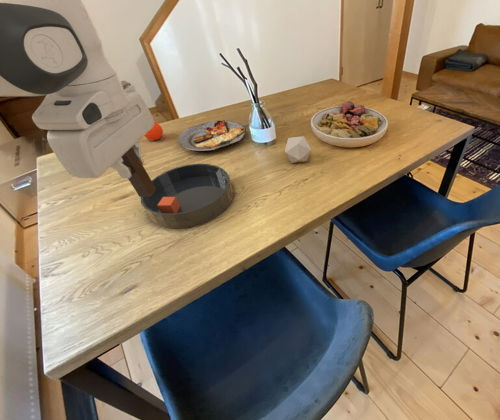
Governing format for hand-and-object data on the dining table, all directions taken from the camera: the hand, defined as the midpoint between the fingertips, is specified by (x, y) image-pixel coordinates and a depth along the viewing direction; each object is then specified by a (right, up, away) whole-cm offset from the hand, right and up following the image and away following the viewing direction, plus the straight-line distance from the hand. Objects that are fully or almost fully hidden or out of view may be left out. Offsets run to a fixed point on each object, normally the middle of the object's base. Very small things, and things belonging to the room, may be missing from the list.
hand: (133, 170), depth 53 cm
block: (-6, -8, +23) cm, 25 cm away
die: (+27, +10, +43) cm, 52 cm away
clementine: (-30, +20, +55) cm, 65 cm away
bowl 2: (+46, +24, +58) cm, 78 cm away
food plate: (-7, +20, +55) cm, 59 cm away
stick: (0, -4, +4) cm, 6 cm away
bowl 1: (-2, -5, +28) cm, 28 cm away
